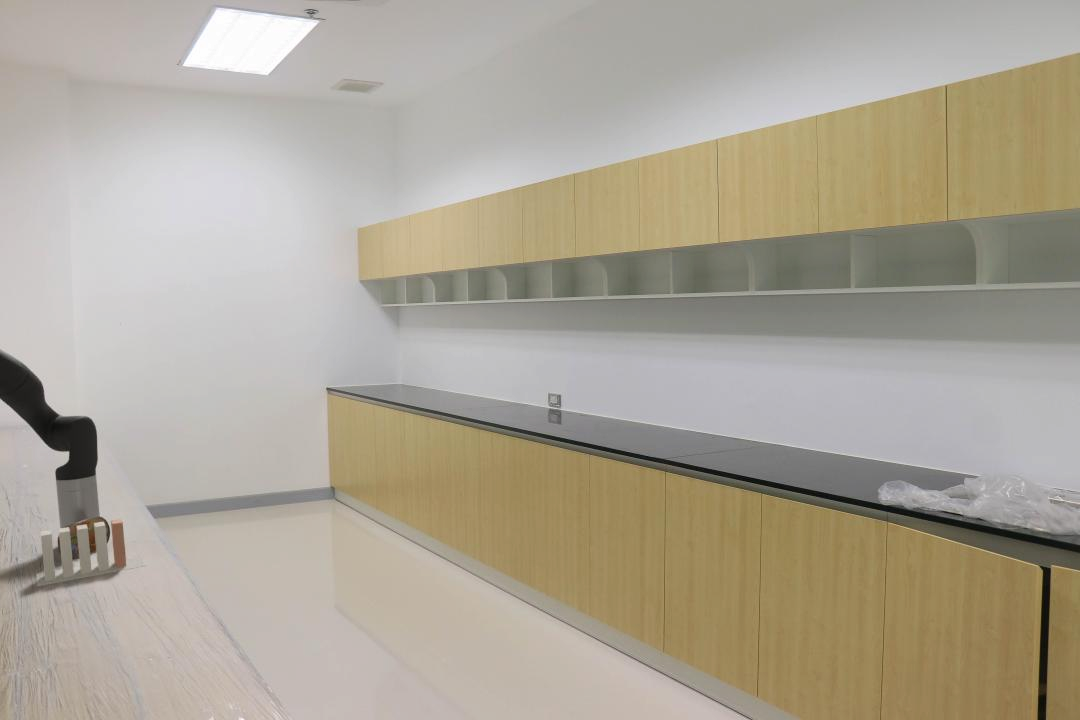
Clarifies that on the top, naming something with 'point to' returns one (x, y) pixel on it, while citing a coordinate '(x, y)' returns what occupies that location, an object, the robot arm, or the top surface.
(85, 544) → the domino
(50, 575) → the domino
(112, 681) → the top surface
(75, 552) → the tin
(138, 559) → the mat
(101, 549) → the domino
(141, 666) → the top surface
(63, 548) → the domino
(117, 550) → the domino
